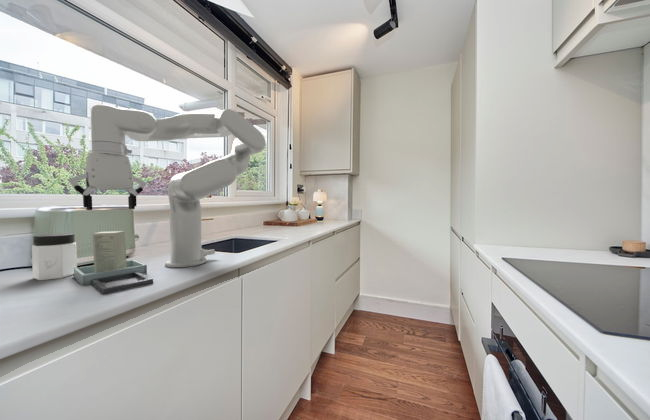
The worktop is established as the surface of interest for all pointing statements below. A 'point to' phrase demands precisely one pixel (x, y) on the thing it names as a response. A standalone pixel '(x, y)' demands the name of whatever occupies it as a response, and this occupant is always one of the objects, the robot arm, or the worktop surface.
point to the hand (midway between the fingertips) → (111, 209)
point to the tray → (88, 273)
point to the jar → (54, 256)
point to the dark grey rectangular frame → (104, 289)
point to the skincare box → (109, 251)
